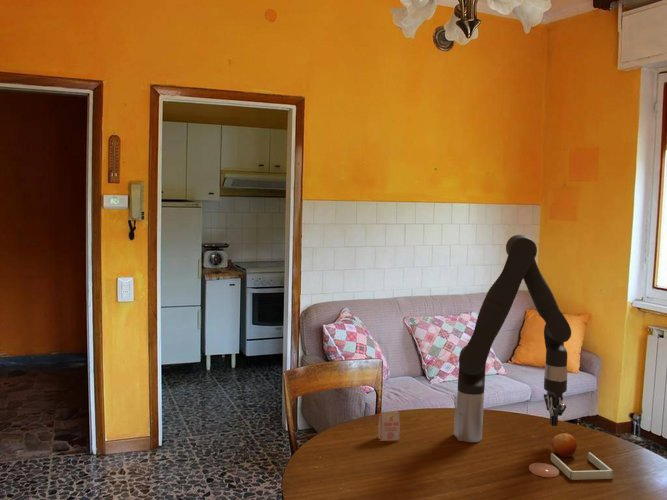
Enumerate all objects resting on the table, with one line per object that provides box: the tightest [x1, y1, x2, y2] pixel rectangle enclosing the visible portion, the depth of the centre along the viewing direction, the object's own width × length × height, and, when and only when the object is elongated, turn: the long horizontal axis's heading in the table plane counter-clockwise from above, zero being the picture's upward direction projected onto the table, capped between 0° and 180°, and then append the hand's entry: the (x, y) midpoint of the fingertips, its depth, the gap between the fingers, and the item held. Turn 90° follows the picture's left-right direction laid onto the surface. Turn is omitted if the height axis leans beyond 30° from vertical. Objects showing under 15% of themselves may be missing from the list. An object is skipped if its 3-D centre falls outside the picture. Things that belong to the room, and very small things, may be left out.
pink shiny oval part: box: [528, 462, 560, 478], centre depth 195 cm, size 9×9×1 cm
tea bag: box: [377, 411, 401, 442], centre depth 216 cm, size 4×7×10 cm, turn 98°
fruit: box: [550, 432, 578, 458], centre depth 208 cm, size 8×8×8 cm
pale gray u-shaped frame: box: [550, 451, 614, 481], centre depth 197 cm, size 14×14×2 cm
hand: (553, 425), depth 216 cm, fingers closed
